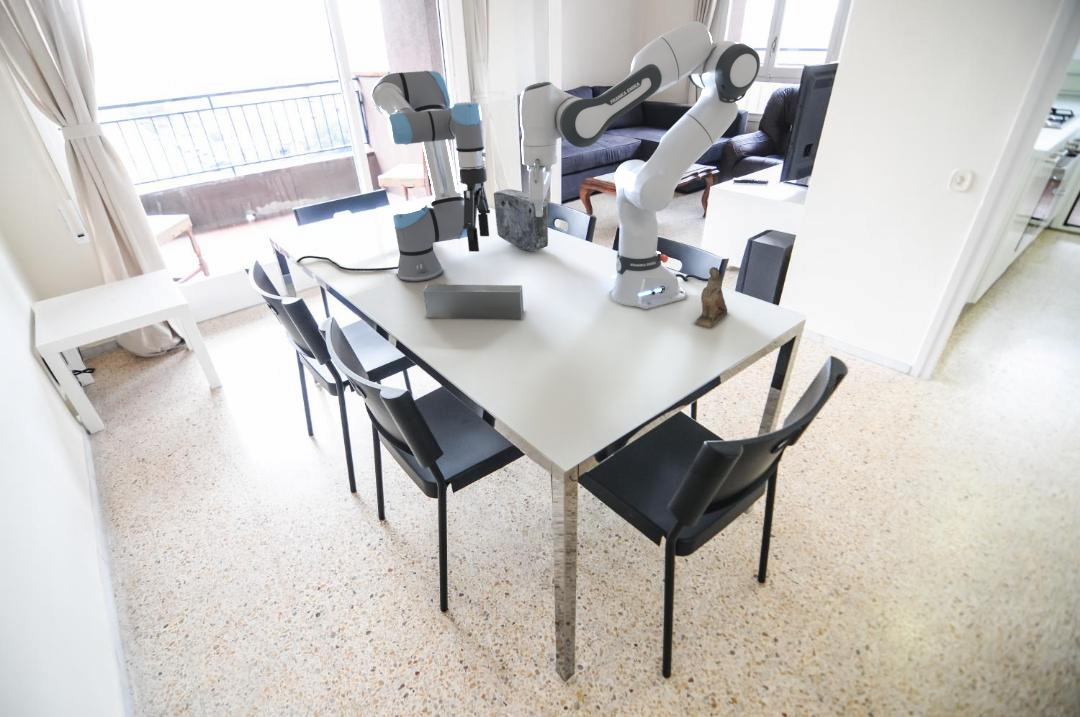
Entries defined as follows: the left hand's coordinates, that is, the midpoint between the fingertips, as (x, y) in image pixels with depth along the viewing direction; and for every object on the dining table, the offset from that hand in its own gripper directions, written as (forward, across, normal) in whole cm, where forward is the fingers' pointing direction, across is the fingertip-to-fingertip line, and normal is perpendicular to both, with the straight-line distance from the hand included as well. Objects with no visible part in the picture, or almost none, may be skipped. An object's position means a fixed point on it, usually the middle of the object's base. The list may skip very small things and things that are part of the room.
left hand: (479, 243), depth 145 cm
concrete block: (+18, +50, -5) cm, 54 cm away
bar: (+18, -10, +1) cm, 21 cm away
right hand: (-11, -6, -19) cm, 23 cm away
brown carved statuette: (+18, -8, -67) cm, 70 cm away
